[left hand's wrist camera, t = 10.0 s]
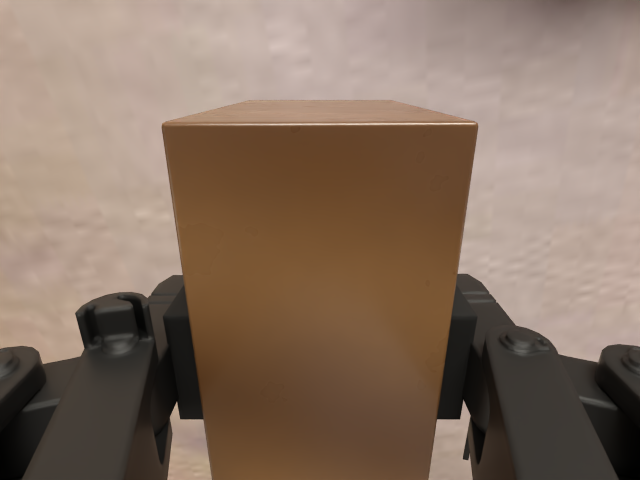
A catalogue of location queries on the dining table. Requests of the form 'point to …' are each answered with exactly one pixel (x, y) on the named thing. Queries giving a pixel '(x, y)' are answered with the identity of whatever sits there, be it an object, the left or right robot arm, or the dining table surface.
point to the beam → (320, 280)
